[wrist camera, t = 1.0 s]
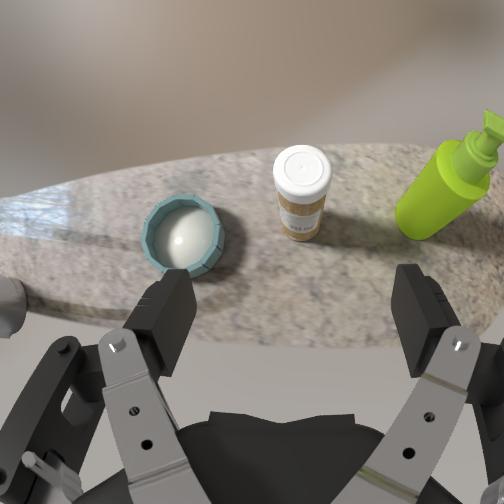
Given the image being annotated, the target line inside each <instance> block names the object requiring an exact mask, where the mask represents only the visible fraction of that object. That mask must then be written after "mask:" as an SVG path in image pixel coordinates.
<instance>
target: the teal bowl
mask: <svg viewBox="0 0 504 504" xmlns="http://www.w3.org/2000/svg"><path fill="white" fill-rule="evenodd" d="M145 221H146V222H144V226H143V231H142V236H141V241H142V242H141V244H142V247H143V250H144V253H145V256H146V259H147V260H148V262H149V263H151V264H152V265H153V266H154V267H156V268H157V269H158V270H159V271H161V272H162V273H164V274H165V273H166V271H167V270H168V269H187V270H188V271H189V274H190V278H192V279H193V278H195V277H197V276H199V275H201V274H203V273H205V272H207V271H210V270H209V269H212V267H213V266H214V264H215V263H216V262H217V260H218V259H219V257H220V256H221V255H222V252H223V248H224V240H225V230H224V228H223V225H222V223H221V221H220V219H219V216H218V214H217V213H216V211H215V210H214V208H213V207H212V206H211V205H210V204H209V203H207V202H206V201H204V200H202V199H201V198H199V197H198V196H196V195H176V196H175V195H173V196H171V197H169V198H167V199H166V200H164V201H162V202H160V203H158V205H156V206H155V207H154V209H153V210H152V211H151V213H150V214H149V215H148V217H147V218H146V219H145Z"/></svg>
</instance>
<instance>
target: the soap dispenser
mask: <svg viewBox="0 0 504 504" xmlns="http://www.w3.org/2000/svg"><path fill="white" fill-rule="evenodd" d="M483 121H484V122H483V132H482V133H481V132H478V131H471V132H469V133H468V134H467V135H466V136H465V137H464V139H463V140H462V141H459V140H448V141H446V142H444V143H442V144H441V145H440V146H439V148H438V149H437V151H436V152H435V153H434V155H433V156H432V158H431V159H430V160H429V162H428V163H427V165H426V166H425V167H424V169H423V170H422V171H421V173H420V174H419V175H418V177H417V178H416V179H415V181H414V182H413V183H412V185H411V186H410V187H409V189H408V190H407V191H406V193H405V194H404V195H403V197H402V198H401V199H400V200H399V202H398V203H397V205H396V209H395V219H396V223H397V225H398V227H399V229H400V230H401V231H402V232H403V233H404V234H405V235H406V236H407V237H409V238H411V239H414V240H425V239H427V238H429V237H430V236H432V235H433V234H435V233H436V232H437V231H439V230H440V229H441V228H443V227H444V226H446V225H447V224H448V223H450V222H451V221H452V220H454V219H455V218H456V217H458V216H459V215H460V214H461V213H463V212H464V211H465V210H467V209H468V208H469V207H471V206H472V205H473V204H474V203H476V202H477V201H478V200H479V199H481V198H482V197H483V196H484V195H485V194H486V193H487V191H488V189H489V185H490V175H489V171H490V170H492V169H493V168H494V167H495V166H496V164H497V162H498V153H497V148H498V147H499V146H500V145H501V144H502V143H504V118H502V117H500V116H499V115H497V114H495V113H493V112H491V111H489V110H486V111H485V112H484V120H483Z"/></svg>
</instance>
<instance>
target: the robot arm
mask: <svg viewBox="0 0 504 504" xmlns="http://www.w3.org/2000/svg"><path fill="white" fill-rule="evenodd" d="M196 310H197V304H196V298H195V294H194V290H193V286H192V282H191V278H190V274H189V271H188V270H187V269H168V270H167V271H166V273H165V274H164V276H163V277H162V279H161V281H156V282H155V283H154V284H152V285H151V286H150V287H149V288H147V290H146V291H145V293H144V294H143V296H142V299H140V300H139V302H138V304H137V306H136V307H135V308H134V310H133V312H132V313H131V315H130V316H129V318H128V320H127V321H126V323H125V324H124V326H123V328H122V329H116V330H113V331H110V332H109V333H107V334H106V335H105V336H103V338H102V339H101V340H100V342H99V344H97V345H89V346H81V344H80V343H79V341H78V339H77V338H75V337H73V336H65V337H62V338H59V339H58V340H56V341H55V342H54V343H53V344H52V345H51V346H50V347H49V349H48V350H47V352H46V353H45V355H44V356H43V358H42V359H41V361H40V363H39V364H38V366H37V367H36V369H35V371H34V372H33V374H32V376H31V377H30V379H29V380H28V382H27V384H26V386H25V387H24V389H23V391H22V392H21V394H20V396H19V397H18V399H17V401H16V403H15V404H14V406H13V408H12V410H11V412H10V413H9V415H8V417H7V419H6V421H5V423H4V425H3V426H2V428H1V430H0V502H2V503H4V504H462V503H461V502H460V501H459V500H458V499H457V498H455V497H454V496H453V495H452V494H451V493H450V492H448V491H447V490H446V489H445V488H444V487H443V486H442V485H441V484H440V483H438V482H437V481H436V480H435V479H434V478H433V477H432V476H431V474H432V471H433V470H434V468H435V466H436V464H437V463H438V460H439V459H440V457H441V455H442V453H443V451H444V449H445V447H446V445H447V443H448V441H449V438H450V436H451V434H452V432H453V430H454V427H455V425H456V423H457V421H458V418H459V416H460V413H461V411H462V409H463V406H464V404H465V403H468V404H472V405H473V409H474V413H475V417H476V421H477V425H478V430H479V434H480V439H481V444H482V449H483V454H484V459H485V465H486V471H487V478H488V485H489V486H488V487H487V488H486V489H485V491H484V492H483V494H482V497H481V502H480V504H504V338H503V340H502V342H501V344H500V345H496V344H489V343H482V342H480V339H479V337H478V335H477V334H476V333H475V332H474V331H472V330H471V329H469V328H467V327H464V326H461V324H460V322H459V320H458V318H457V316H456V315H455V313H454V311H453V309H452V307H451V305H450V303H449V302H448V299H447V298H446V296H445V294H444V292H443V290H442V289H441V287H440V285H439V284H438V283H437V282H436V281H435V280H434V279H432V278H431V277H430V276H424V275H423V273H422V271H421V269H420V267H419V266H418V264H399V265H398V266H397V269H396V275H395V281H394V286H393V292H392V298H391V310H392V315H393V318H394V321H395V324H396V327H397V330H398V334H399V337H400V340H401V344H402V347H403V350H404V354H405V357H406V360H407V365H408V368H409V372H410V376H411V378H417V377H420V379H419V381H418V382H417V384H416V386H415V388H414V390H413V391H412V393H411V395H410V396H409V398H408V400H407V402H406V403H405V405H404V407H403V408H402V410H401V411H400V413H399V415H398V416H397V418H396V420H395V421H394V423H393V424H392V426H391V427H390V429H389V430H388V432H387V433H386V435H384V434H383V433H381V432H379V431H377V430H375V429H373V428H370V427H367V426H364V425H360V424H355V418H354V414H346V415H323V416H321V415H320V416H315V417H311V418H306V419H302V420H297V421H292V422H287V423H276V422H271V421H268V420H264V419H260V418H257V417H253V416H249V415H246V414H235V413H221V412H212V411H211V412H210V416H209V420H208V421H204V422H199V423H195V424H192V425H189V426H186V427H184V428H182V429H179V427H178V425H177V423H176V421H175V419H174V417H173V415H172V413H171V411H170V409H169V406H168V404H167V402H166V400H165V398H164V395H163V393H162V391H161V389H160V387H159V384H158V379H159V377H160V376H167V377H171V376H172V373H173V371H174V368H175V366H176V363H177V361H178V358H179V356H180V353H181V350H182V348H183V345H184V343H185V340H186V338H187V335H188V333H189V330H190V328H191V325H192V323H193V320H194V318H195V315H196ZM26 311H27V299H26V294H25V290H24V287H23V286H22V284H21V282H20V281H19V280H17V279H16V278H12V277H9V276H5V275H1V274H0V338H7V339H9V338H10V336H11V335H12V334H14V333H16V332H18V331H19V330H20V329H21V327H22V325H23V323H24V320H25V317H26ZM69 388H70V389H71V391H72V392H73V393H72V395H71V397H70V399H69V401H68V403H67V405H66V407H65V409H64V411H63V413H62V412H61V403H62V401H63V398H64V397H65V395H66V393H67V391H68V389H69ZM105 406H106V409H107V413H108V417H109V420H110V424H111V427H112V431H113V434H114V437H115V441H116V444H117V447H118V450H119V454H120V457H121V459H122V462H123V465H124V468H123V469H122V470H120V471H119V472H117V473H116V474H114V475H113V476H111V477H110V478H108V479H107V480H105V481H103V482H102V483H100V484H99V485H97V486H95V487H94V488H92V489H90V490H89V491H87V492H85V493H84V492H83V490H82V489H81V480H80V477H79V472H80V469H81V467H82V464H83V461H84V458H85V456H86V453H87V451H88V448H89V445H90V443H91V440H92V437H93V435H94V433H95V430H96V427H97V425H98V423H99V420H100V418H101V415H102V413H103V410H104V408H105Z"/></svg>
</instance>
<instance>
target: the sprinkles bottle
mask: <svg viewBox="0 0 504 504" xmlns="http://www.w3.org/2000/svg"><path fill="white" fill-rule="evenodd" d="M273 173H274V181H275V185H276V188H277V190H278V200H279V208H280V215H281V227H282V229H283V231H284V233H285V234H286V235H287V236H288V237H289V238H290V239H292V240H295V241H307V240H309V239H311V238H313V237H314V236H315V235H316V234H317V233H318V231H319V228H320V220H321V218H322V214H323V210H324V202H325V197H326V193H327V191H328V189H329V187H330V184H331V178H332V167H331V163H330V161H329V159H328V158H327V156H326V155H325V154H324V153H323V152H321V151H320V150H319V149H317V148H315V147H312V146H308V145H296V146H292V147H289V148H287V149H286V150H284V151H283V152H282V153H281V154H280V155H279V156H278V157H277V159H276V161H275V163H274V168H273Z"/></svg>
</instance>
